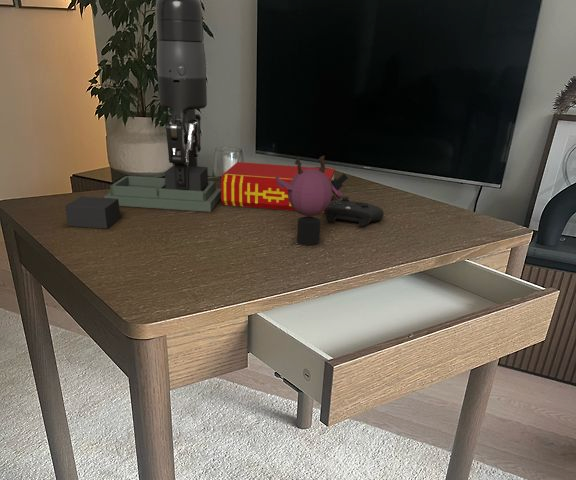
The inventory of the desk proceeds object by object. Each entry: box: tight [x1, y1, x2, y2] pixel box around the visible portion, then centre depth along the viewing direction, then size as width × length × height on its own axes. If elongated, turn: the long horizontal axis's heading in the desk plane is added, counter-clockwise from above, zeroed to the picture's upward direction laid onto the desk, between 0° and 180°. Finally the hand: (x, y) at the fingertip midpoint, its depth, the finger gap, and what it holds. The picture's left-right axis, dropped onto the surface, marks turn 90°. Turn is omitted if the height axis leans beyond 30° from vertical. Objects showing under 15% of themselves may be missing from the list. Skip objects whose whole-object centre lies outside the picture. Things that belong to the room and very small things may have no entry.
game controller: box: [325, 196, 385, 228], centre depth 98 cm, size 10×5×6 cm
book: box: [220, 161, 336, 214], centre depth 106 cm, size 18×13×5 cm
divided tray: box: [103, 175, 221, 213], centre depth 104 cm, size 18×10×3 cm, turn 85°
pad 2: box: [164, 164, 209, 191], centre depth 102 cm, size 6×6×3 cm
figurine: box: [275, 155, 349, 246], centre depth 84 cm, size 8×8×12 cm
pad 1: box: [64, 196, 121, 230], centre depth 91 cm, size 6×6×3 cm
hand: (186, 183), depth 103 cm, fingers closed on pad 2, 6 cm apart
